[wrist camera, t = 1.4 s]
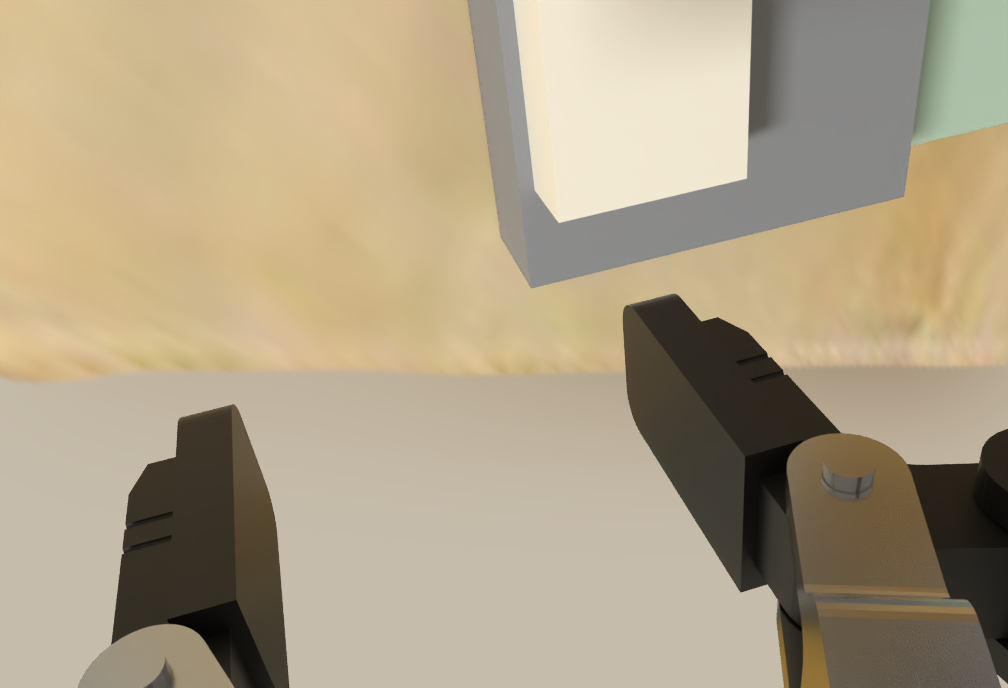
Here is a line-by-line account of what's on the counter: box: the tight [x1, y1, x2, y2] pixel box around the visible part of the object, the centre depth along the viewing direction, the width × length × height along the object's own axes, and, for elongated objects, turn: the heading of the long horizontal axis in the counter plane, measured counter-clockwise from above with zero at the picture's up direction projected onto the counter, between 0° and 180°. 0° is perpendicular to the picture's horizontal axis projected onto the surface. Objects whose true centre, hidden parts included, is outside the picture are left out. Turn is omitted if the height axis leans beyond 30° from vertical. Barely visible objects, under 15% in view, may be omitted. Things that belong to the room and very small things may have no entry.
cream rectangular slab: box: [513, 0, 752, 223], centre depth 25 cm, size 9×6×4 cm, turn 7°
